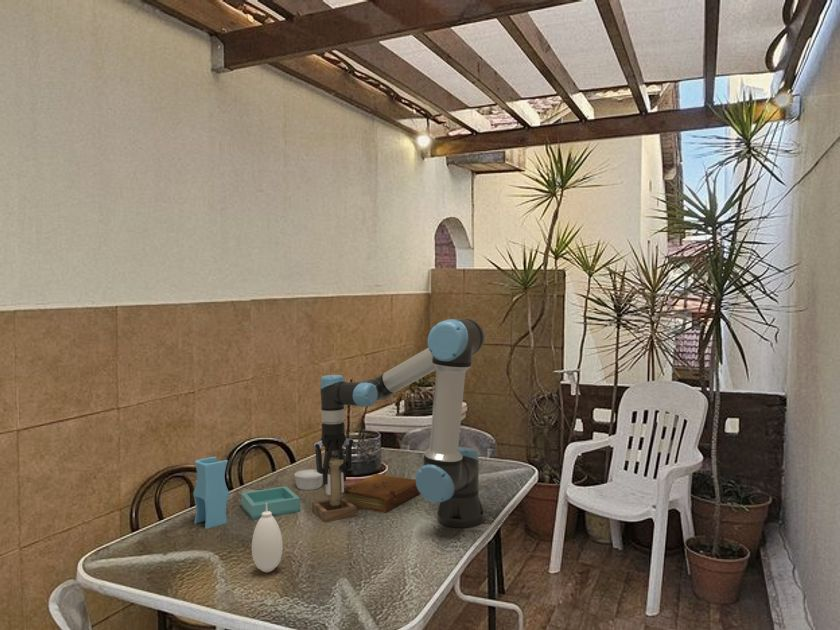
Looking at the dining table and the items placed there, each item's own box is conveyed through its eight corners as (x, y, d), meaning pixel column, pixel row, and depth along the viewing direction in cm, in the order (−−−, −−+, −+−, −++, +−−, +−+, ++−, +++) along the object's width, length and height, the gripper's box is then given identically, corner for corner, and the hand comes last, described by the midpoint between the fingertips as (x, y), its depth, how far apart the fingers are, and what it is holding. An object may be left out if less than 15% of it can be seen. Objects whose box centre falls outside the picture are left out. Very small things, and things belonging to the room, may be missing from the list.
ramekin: (330, 485, 239) (330, 471, 239) (310, 493, 230) (310, 478, 230) (308, 481, 246) (308, 467, 245) (288, 488, 236) (288, 474, 236)
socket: (356, 516, 204) (356, 507, 204) (324, 522, 199) (324, 512, 199) (343, 505, 214) (342, 497, 214) (312, 511, 209) (312, 502, 209)
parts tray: (300, 511, 209) (300, 498, 209) (252, 519, 202) (252, 506, 201) (286, 498, 223) (286, 486, 223) (241, 506, 216) (240, 493, 216)
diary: (385, 515, 207) (385, 497, 207) (340, 506, 216) (340, 489, 216) (420, 495, 227) (420, 479, 227) (377, 488, 236) (377, 473, 236)
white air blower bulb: (284, 575, 160) (282, 505, 160) (252, 579, 158) (251, 508, 158) (281, 563, 168) (280, 496, 167) (251, 566, 165) (250, 499, 165)
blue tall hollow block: (229, 522, 200) (228, 460, 199) (206, 529, 194) (205, 465, 193) (216, 516, 205) (215, 456, 205) (193, 523, 199) (192, 460, 199)
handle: (340, 508, 203) (338, 462, 203) (322, 506, 205) (321, 460, 205) (347, 503, 207) (345, 458, 207) (330, 501, 210) (328, 457, 210)
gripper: (352, 417, 213) (354, 485, 214) (304, 423, 205) (306, 493, 205) (361, 420, 207) (362, 491, 207) (312, 426, 199) (313, 499, 199)
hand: (334, 492), depth 206 cm, fingers closed on handle, 4 cm apart
